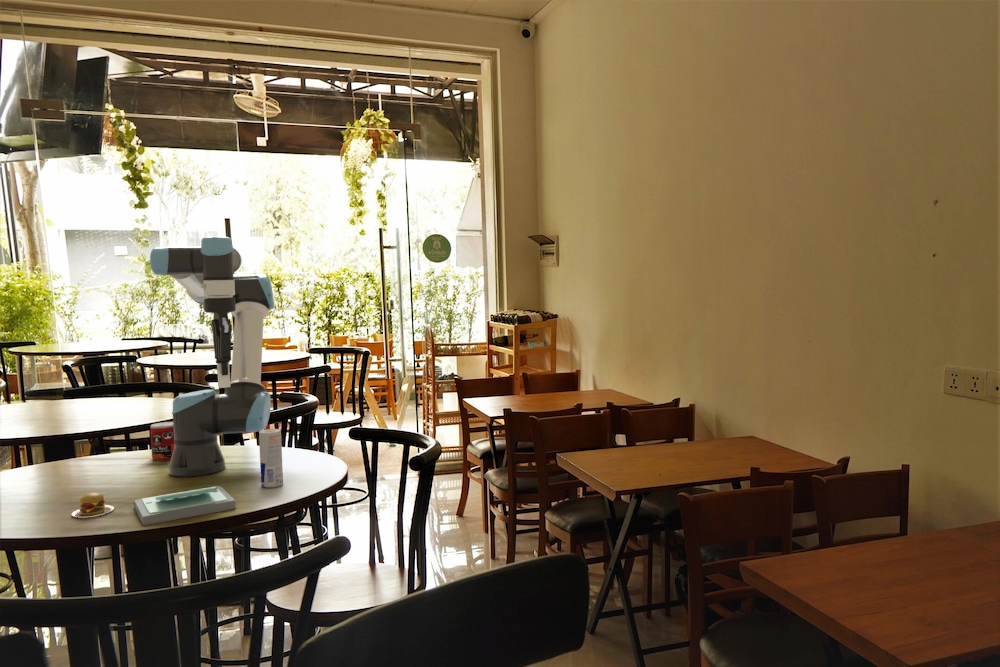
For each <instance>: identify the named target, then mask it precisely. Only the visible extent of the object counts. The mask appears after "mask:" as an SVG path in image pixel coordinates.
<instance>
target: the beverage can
mask: <svg viewBox="0 0 1000 667" xmlns="http://www.w3.org/2000/svg"><path fill="white" fill-rule="evenodd" d="M281 431H282V430H281V429H279V428H269V429H263V430H262V431H258V433H259V434H258V442H259V444H258V445H259V463H260V464H259V465H260V467H259V468H260V482H261V483H260V484H261V485H260V486H262V487H263V488H267V489H272V488H273V489H274V488H279V487H280V486H282V485H283V484H284V472H283V469H284V468H283V467H284V466H283V451H282V450H283V449H282V448H283V446H282V445H283V444H282V432H281Z"/></svg>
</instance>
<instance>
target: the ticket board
mask: <svg viewBox="0 0 1000 667" xmlns="http://www.w3.org/2000/svg"><path fill="white" fill-rule="evenodd" d="M207 488H217V491H215V492H209V493H203V494H197V495H191V496H185V497H179V498H174V499H168V500H162V501H160V500H156V498H155V497H158V496H159V495H157V496H156V495H155V496H151V497H143V498H138V499H134V500H133V506H134V510H135V512H136V514H137V516H138V518H139V519H140V522H141V524H142V525H143V526H147V525H152V524H158V523H164V522H169V521H174V520H180V519H187V518H191V517H195V516H196V517H197V516H203V515H208V514H214V513H218V512H223V511H228V510H234V509H236V507H237V506H236V499H235V498H234V497H233V496H232V495H230V494H229V492H227V491H226V490H225V489H224V488H223V487H222V486H221V485H216V486H211V487H205V488H199V489H193V490H187V491H180V492H174V493H173V492H172V494H177V493H183V492H189V491H195V490H201V489H207ZM170 494H171V493H167V494H166V495H170ZM164 495H165V494H163V495H162V494H161V495H160V496H164Z"/></svg>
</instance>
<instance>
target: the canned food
mask: <svg viewBox="0 0 1000 667" xmlns="http://www.w3.org/2000/svg"><path fill="white" fill-rule="evenodd" d="M150 445H151V447H150V448H151V458H152V460H153V461H157V462H165V461H171V457H172V454H173V451H174V428H173V421H164V422H157V423H153V424H151V425H150Z"/></svg>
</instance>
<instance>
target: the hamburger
mask: <svg viewBox="0 0 1000 667" xmlns="http://www.w3.org/2000/svg"><path fill="white" fill-rule="evenodd" d="M78 507H80V508H79V509H77V510H74V511H72V513H71V514H70V515H71V517H75V518H77V517H78V519H89V517H90V518H95V517H100V515H101V516H103V515H106V513H107V514H109V513H111V512H112V511H114V510H115V507H114V506H112V505H108V504H107V503H106V499H105V497H104V495H103V494H102V493H100V492H89V493H86V494H84V495H83V496H81V497H80V500H79V504H78ZM107 508H108V509H109V511H107V512H105V509H107ZM79 512H80V514H81V516H75V515H78V514H79ZM103 512H104V513H103ZM77 513H78V514H77ZM91 515H92V516H91Z"/></svg>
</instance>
